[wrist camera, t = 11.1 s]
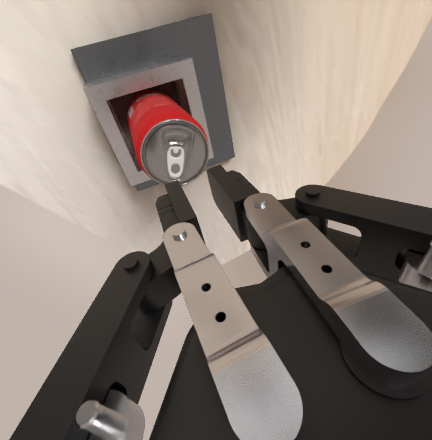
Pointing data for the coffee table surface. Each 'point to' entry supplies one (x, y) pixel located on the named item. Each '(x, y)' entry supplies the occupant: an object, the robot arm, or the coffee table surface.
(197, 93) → the jig
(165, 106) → the beverage can
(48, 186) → the coffee table surface
